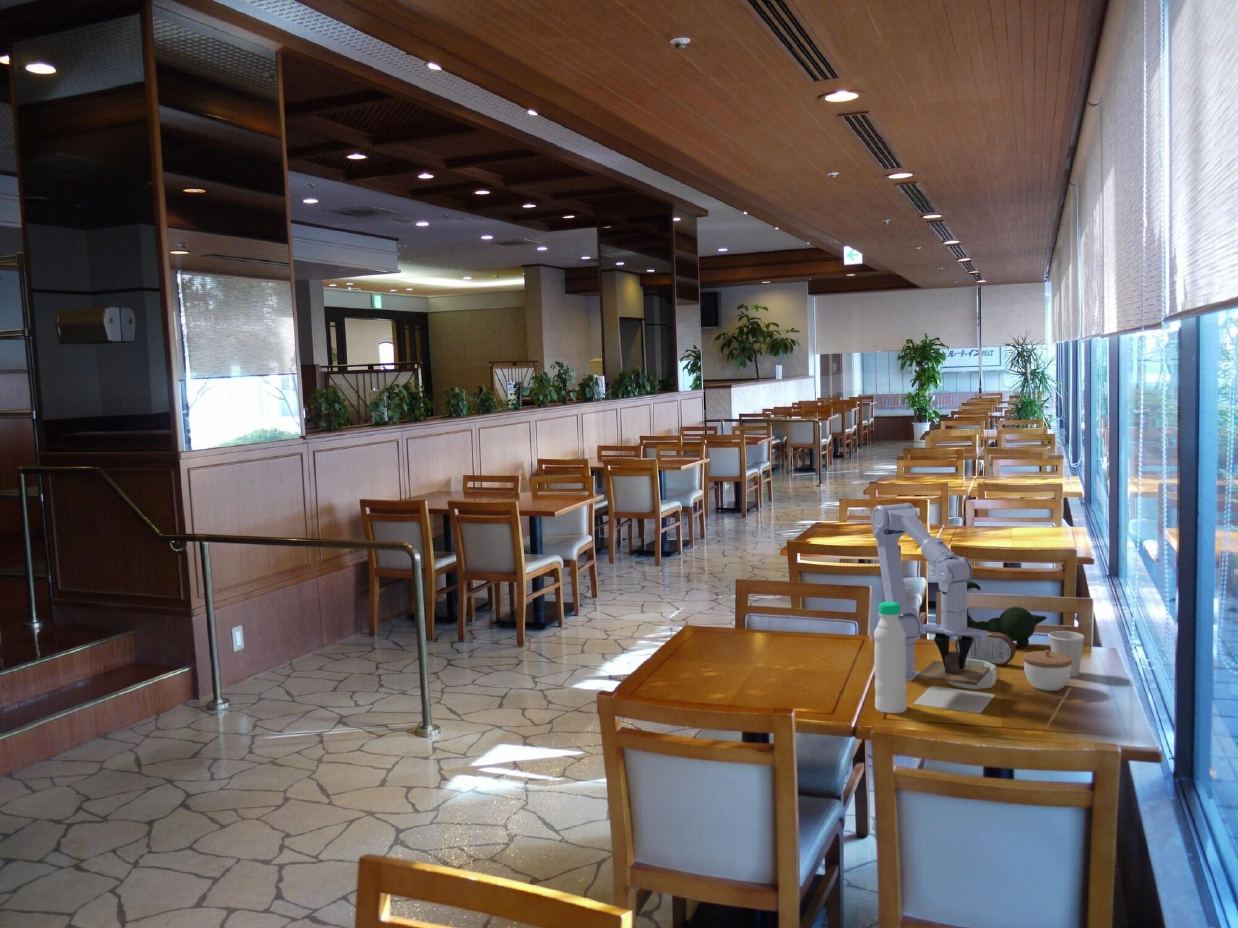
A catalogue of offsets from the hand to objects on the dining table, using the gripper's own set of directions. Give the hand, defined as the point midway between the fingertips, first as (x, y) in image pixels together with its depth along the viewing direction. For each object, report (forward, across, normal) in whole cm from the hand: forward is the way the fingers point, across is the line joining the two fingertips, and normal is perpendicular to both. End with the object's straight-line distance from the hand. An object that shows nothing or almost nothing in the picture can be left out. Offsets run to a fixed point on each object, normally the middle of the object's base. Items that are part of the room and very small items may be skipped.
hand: (954, 666), depth 231 cm
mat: (+8, 0, 0) cm, 8 cm away
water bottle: (+8, -11, -13) cm, 19 cm away
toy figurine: (+8, -2, +53) cm, 54 cm away
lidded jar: (+8, +17, +19) cm, 27 cm away
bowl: (+8, 0, +15) cm, 17 cm away
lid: (+2, 0, 0) cm, 2 cm away
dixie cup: (+8, +19, +33) cm, 39 cm away
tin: (+8, -1, +34) cm, 35 cm away
